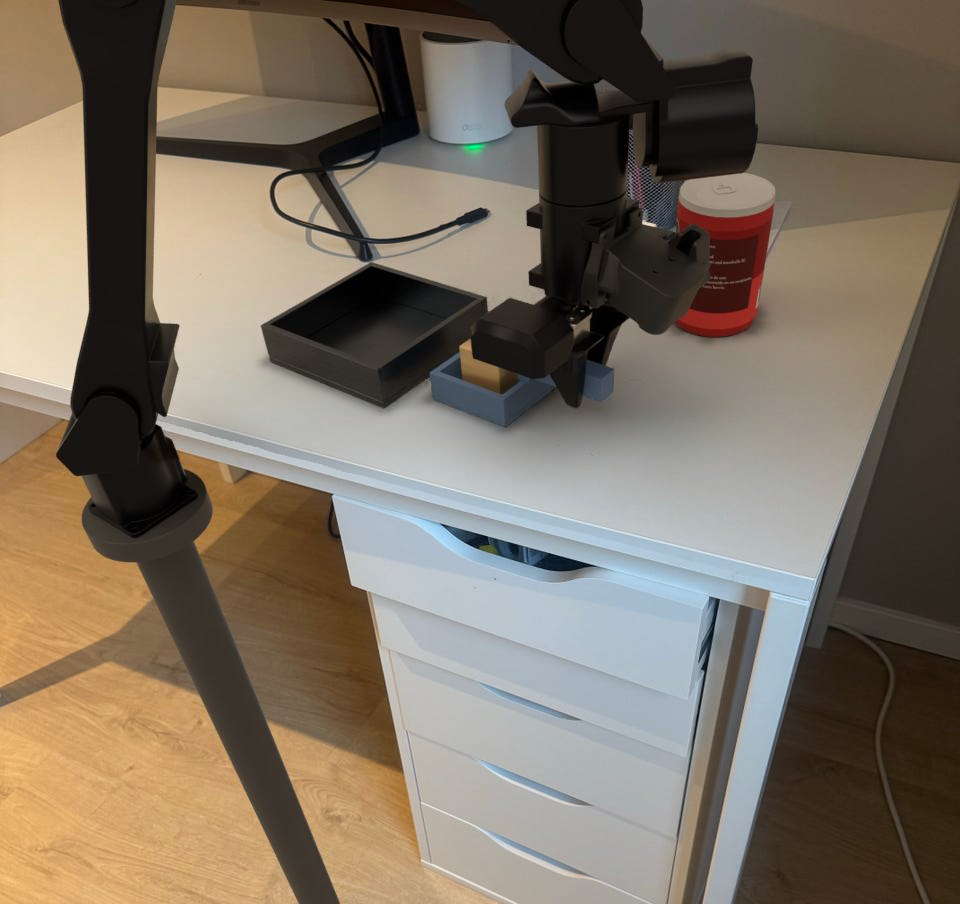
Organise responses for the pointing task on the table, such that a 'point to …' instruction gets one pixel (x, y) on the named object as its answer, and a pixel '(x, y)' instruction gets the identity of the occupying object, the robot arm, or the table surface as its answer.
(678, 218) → the canned food
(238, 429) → the table surface
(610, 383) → the scoop
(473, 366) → the block
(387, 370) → the black square tray
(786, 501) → the table surface
